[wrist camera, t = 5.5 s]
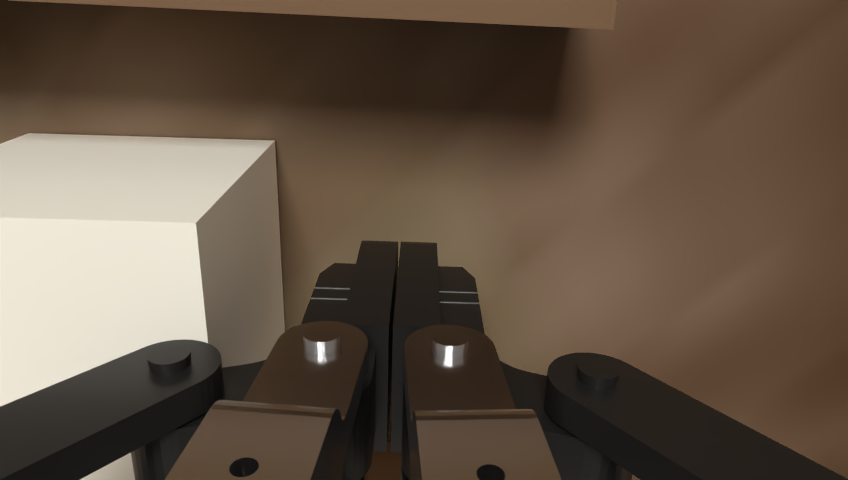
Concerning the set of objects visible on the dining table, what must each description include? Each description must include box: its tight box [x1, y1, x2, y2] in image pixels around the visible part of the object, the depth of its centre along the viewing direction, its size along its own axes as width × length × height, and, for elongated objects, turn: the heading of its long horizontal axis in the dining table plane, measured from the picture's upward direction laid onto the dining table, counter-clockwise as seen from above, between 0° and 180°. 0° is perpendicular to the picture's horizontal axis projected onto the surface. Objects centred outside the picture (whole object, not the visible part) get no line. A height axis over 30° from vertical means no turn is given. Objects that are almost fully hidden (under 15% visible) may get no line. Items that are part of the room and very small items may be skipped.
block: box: [0, 133, 285, 480], centre depth 12 cm, size 5×5×5 cm
